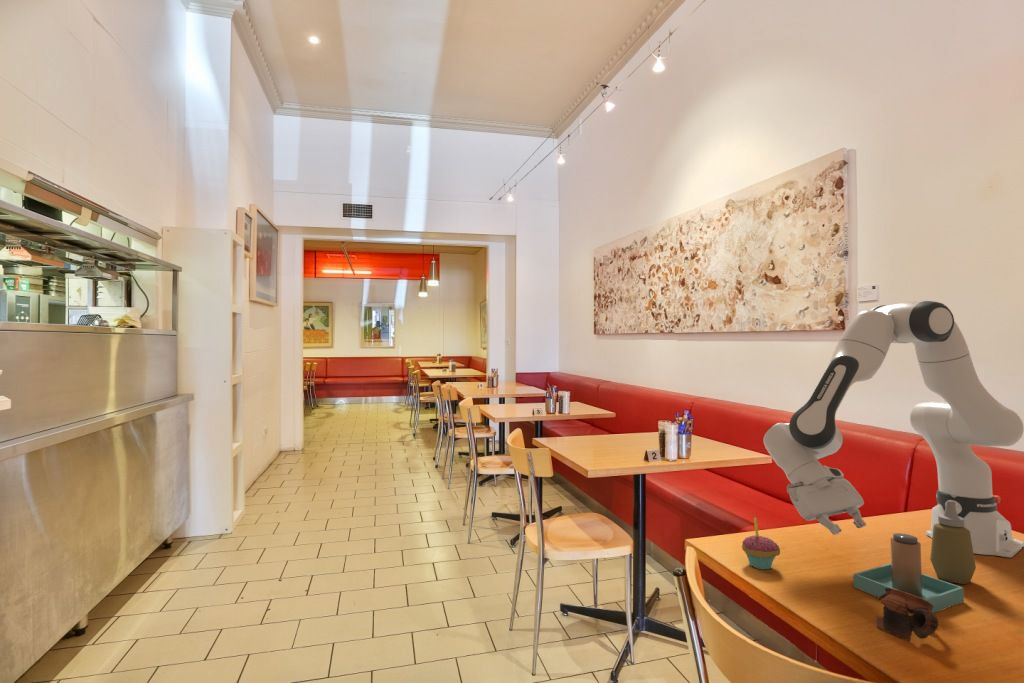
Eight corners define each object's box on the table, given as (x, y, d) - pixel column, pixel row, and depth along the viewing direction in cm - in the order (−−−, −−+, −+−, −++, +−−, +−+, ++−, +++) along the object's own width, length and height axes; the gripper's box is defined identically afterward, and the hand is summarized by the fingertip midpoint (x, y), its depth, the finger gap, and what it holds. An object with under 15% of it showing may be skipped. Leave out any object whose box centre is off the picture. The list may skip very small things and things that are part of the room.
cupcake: (734, 560, 129) (733, 513, 129) (763, 557, 131) (762, 511, 131) (757, 574, 121) (756, 524, 121) (788, 571, 122) (787, 521, 123)
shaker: (900, 584, 114) (899, 531, 114) (927, 594, 109) (925, 538, 109) (886, 589, 112) (885, 534, 112) (913, 599, 107) (911, 542, 107)
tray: (891, 575, 119) (891, 563, 120) (963, 602, 107) (963, 587, 107) (853, 587, 114) (853, 573, 114) (925, 616, 101) (924, 601, 101)
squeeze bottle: (985, 588, 113) (982, 507, 113) (944, 585, 114) (941, 505, 115) (961, 573, 121) (958, 497, 121) (922, 570, 122) (920, 495, 123)
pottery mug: (860, 622, 100) (869, 581, 102) (905, 644, 100) (913, 602, 102) (911, 639, 88) (920, 592, 91) (962, 664, 88) (969, 616, 90)
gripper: (791, 478, 125) (831, 530, 116) (844, 469, 133) (885, 517, 124) (775, 491, 129) (813, 543, 120) (827, 481, 137) (866, 529, 128)
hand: (850, 530), depth 122 cm, fingers open, 8 cm apart
